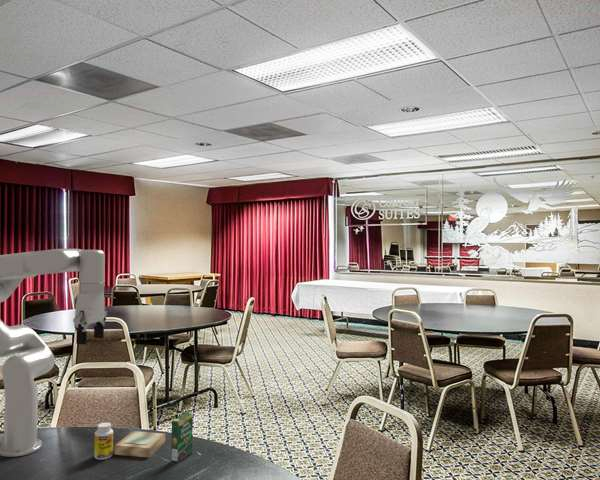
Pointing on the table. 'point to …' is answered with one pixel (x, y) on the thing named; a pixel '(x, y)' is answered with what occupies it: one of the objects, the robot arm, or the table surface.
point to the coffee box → (181, 437)
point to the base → (140, 444)
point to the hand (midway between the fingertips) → (90, 341)
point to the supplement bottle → (103, 441)
